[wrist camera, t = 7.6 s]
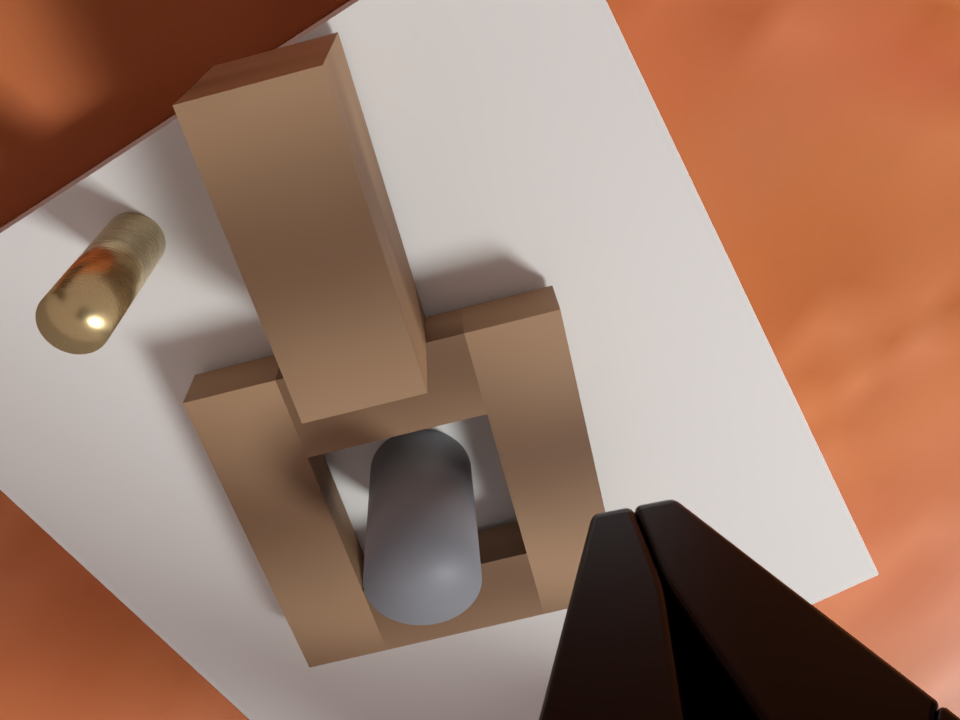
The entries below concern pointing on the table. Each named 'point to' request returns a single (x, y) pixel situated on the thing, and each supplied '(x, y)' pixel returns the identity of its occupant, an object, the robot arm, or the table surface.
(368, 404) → the block
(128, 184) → the board
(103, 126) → the table surface
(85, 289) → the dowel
